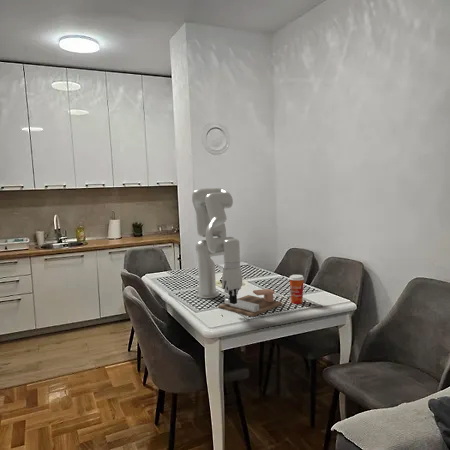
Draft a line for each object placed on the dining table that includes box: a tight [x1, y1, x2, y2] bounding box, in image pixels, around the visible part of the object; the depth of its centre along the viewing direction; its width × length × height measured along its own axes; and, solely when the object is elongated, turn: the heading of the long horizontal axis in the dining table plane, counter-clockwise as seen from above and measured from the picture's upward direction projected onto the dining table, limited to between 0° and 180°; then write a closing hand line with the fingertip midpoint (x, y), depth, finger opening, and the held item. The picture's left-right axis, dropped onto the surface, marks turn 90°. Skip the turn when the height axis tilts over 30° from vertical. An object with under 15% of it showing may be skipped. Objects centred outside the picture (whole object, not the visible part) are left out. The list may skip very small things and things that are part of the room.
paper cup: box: [288, 274, 305, 305], centre depth 208 cm, size 8×8×14 cm
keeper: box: [252, 288, 275, 302], centre depth 208 cm, size 10×6×6 cm, turn 107°
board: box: [217, 294, 282, 318], centre depth 204 cm, size 22×24×1 cm
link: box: [224, 296, 259, 312], centre depth 198 cm, size 20×5×4 cm, turn 47°
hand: (233, 303), depth 190 cm, fingers closed
